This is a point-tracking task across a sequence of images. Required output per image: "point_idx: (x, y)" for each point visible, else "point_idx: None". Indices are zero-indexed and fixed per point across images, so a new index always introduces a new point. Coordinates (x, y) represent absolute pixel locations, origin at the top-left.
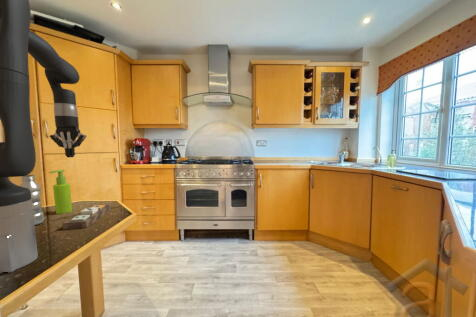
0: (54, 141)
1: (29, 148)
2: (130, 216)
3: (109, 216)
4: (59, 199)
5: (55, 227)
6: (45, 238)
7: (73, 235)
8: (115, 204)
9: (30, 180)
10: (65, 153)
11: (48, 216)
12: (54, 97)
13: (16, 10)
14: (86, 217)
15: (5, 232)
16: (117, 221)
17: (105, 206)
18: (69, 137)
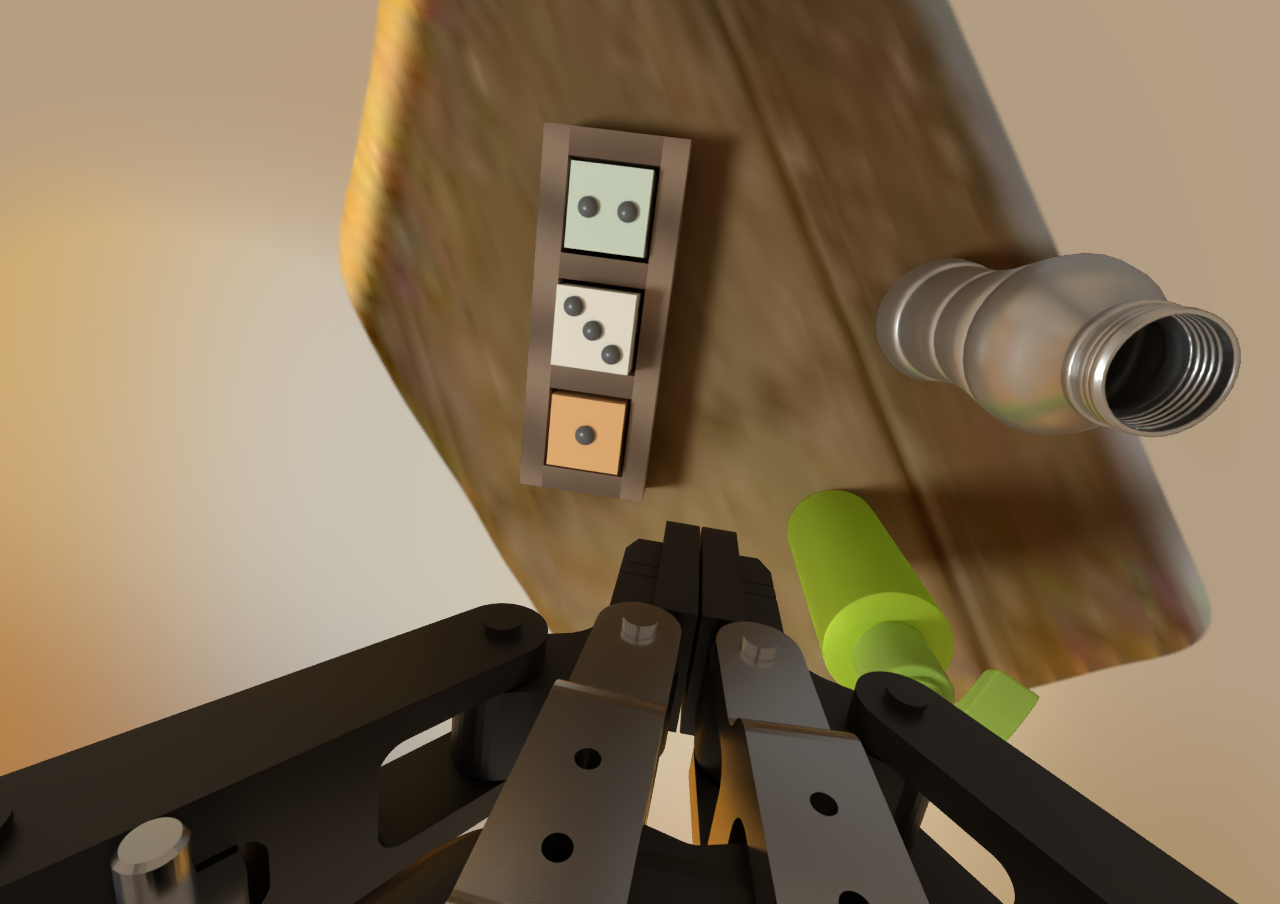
0: (1166, 862)
1: None
2: (349, 267)
3: (488, 317)
4: (860, 533)
5: (759, 211)
6: (737, 15)
7: (585, 12)
8: (537, 573)
9: (1091, 319)
10: (768, 587)
11: (898, 463)
12: None
13: None
14: (568, 197)
15: None
16: (401, 192)
17: (537, 440)
18: (529, 841)
